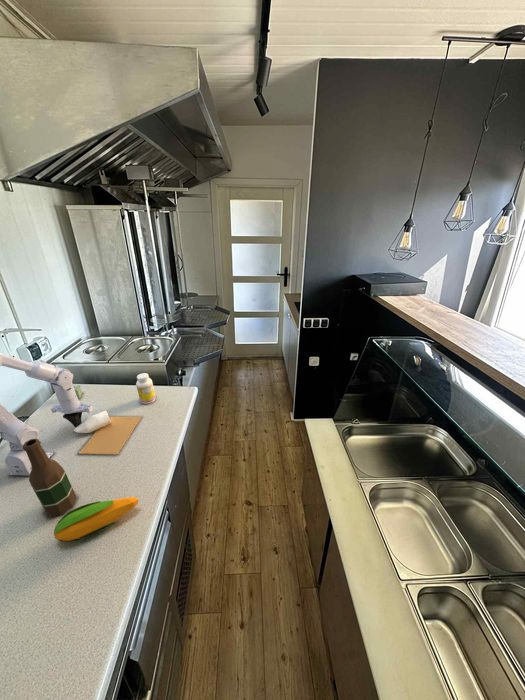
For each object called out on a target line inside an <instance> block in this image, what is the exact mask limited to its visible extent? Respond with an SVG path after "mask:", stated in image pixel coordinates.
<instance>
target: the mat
mask: <svg viewBox="0 0 525 700" xmlns="http://www.w3.org/2000/svg"><path fill="white" fill-rule="evenodd" d="M109 418H110V421H111V423H110V424H108V425H106V426H104V427H101V428H99V429H97V430H95V431H94V433H93V434H92V436H91V437H90V438H89V440H88V441H87V442H86V443H85V445H84V446H83V447H82V448H81V449H80V451H79V452H78V455H105V456H106V455H107V456H109V455H110V456H111V455H112V456H113V455H115V456H118V455H119V453H120V451H121V450H122V449H123V447H124V445H125V444H126V442H127V441H128V439H129V437H130V436H131V435H132V433H133V431H134V430H135V428H136V427H137V425H138V423H139V422H140V421H141V419H142V416H109Z"/></svg>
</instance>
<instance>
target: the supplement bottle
mask: <svg viewBox="0 0 525 700" xmlns="http://www.w3.org/2000/svg"><path fill="white" fill-rule="evenodd" d="M136 380H137V381H136V383H135V386H136V390H137V395H138V398H139V402H140V403H141V404H143V405H148V404H151V403H153V402H154V401H155V400H156V397H157V396H156V393H155V388H154V383H153V380H152V378H150V376H149V373H147V372H142V373H139V374H137V376H136Z"/></svg>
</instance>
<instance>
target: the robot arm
mask: <svg viewBox="0 0 525 700" xmlns="http://www.w3.org/2000/svg"><path fill="white" fill-rule="evenodd" d="M0 367H6V368H9V369H14V370H17V371H22V372H24V374H25V375H26V377H27V378H32V379H36V380H39V381H43V382H46V383H51V386H52V388H53V391H54V394H55V396H56V399H57V401H58V404H57V405H56V404H54V405H53V406H52V407H50V410H51V413H53V414H54V413H56V412H58V413H61V414H63V415H62V418H63V419H65V420H66V421H68V422H69V423H70V424H71V425H72V426H73V427H74V429H75V428H76V427H78V426H79V425H80V424H81V423H82V415H83V413H87V414H90V413H92V411H93V406H92V405H87V404H84V403H81V401H80V400H79V399H78V398H77V395H76V392H75V390H74V387H73V386H74V383H73V379H74V374H73V373H72V372H71V371H70V370H69V369H66V368H63V367H60V366H59V365H57V364H54V365H53V364H50V363H47V360H44V359H39V360H37V359H36V360H32V361H30V362H29V361H27V360H23V359H21V358H18V357H15V356H13V355H8V354H5V353H3V352H0ZM0 438H1V439H2V440H3V441H6V442H8V443H9V452H8V454H7V455H6V457H5V458H4V462H5V464H6V466H7V467H8V469H9V471H10V473H9V475H10V476H29V475H30V472H31V470H32V467H31V463H30V460H29V458H28V455H27V453H26V451H25V450H24V449H23V445H24V443H25V442H27V441H29V440H31V439H36V438H37V439H38V440H39V441H40V439H39V438H40V430H38V429H37V428H36V427H31V426H29V425H28V424H27V423H25V422H23V421H22V420H21V419H19V418H17V417H16V416H15V415H14V414H13V413H12V412H11V411H9V410H8V408H6V407H5V405H4V404H2V403H1V402H0ZM40 445H41V446H42V448H43V450H44V451H45V449H44V447H43V445H42V443H41V444H40ZM45 453H46V455H47V456H48V458H49V459H51V457H52V455H54V452H51V451H49V452H48V451H45Z"/></svg>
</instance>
